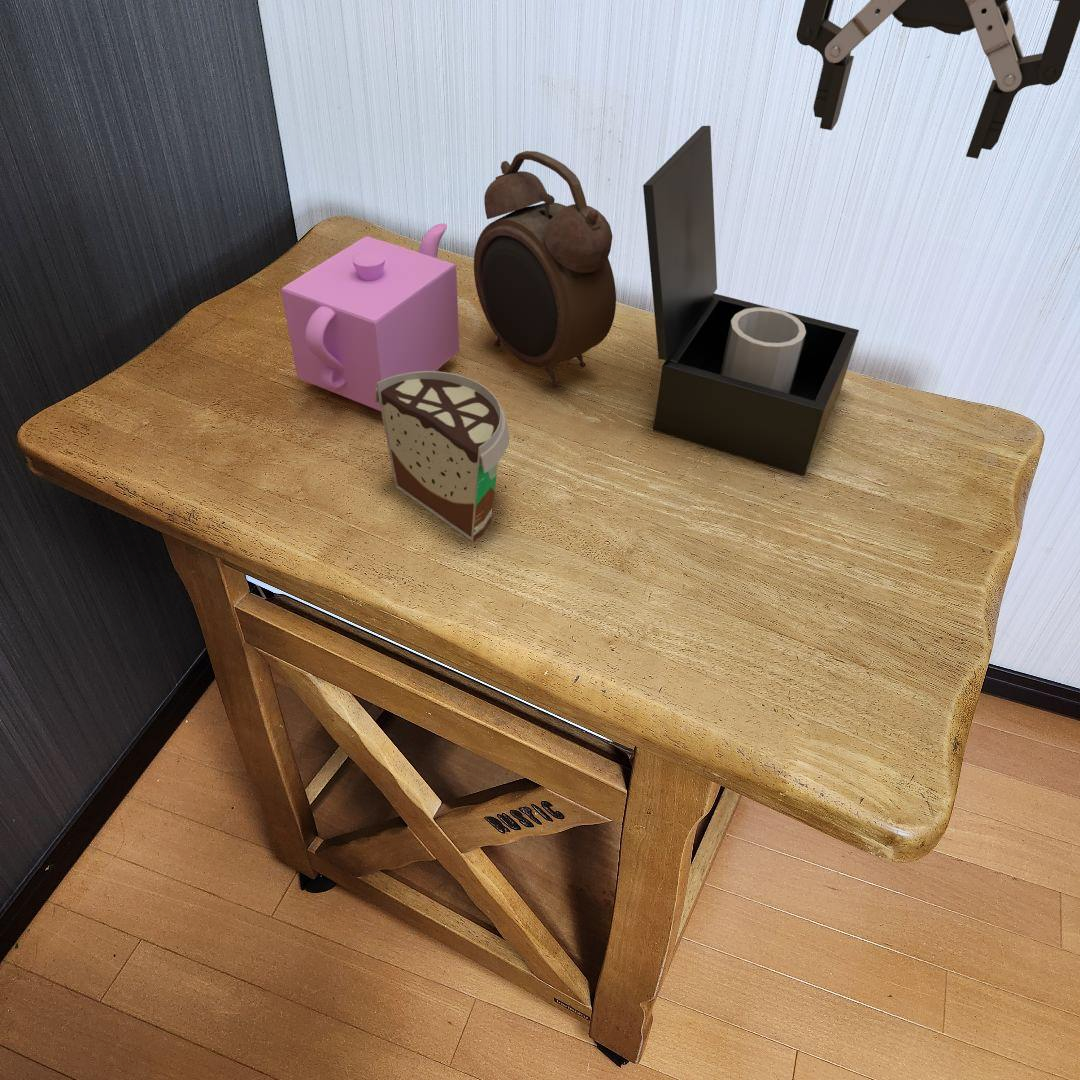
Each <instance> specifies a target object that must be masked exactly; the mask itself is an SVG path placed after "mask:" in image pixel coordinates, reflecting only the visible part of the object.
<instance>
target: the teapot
mask: <svg viewBox="0 0 1080 1080" xmlns="http://www.w3.org/2000/svg"><path fill="white" fill-rule="evenodd" d="M447 229H448V224H447V223H443V222H441V223H437V224H435V225H433V226H431V227H430V228H429V229H428V230H427V231H426V233H425V234H424V236H423V239H422V240H421V242H420V246H419V248H418V251H416V250H412V249H409V248H407V247H403V246H400V245H396V244H393V243H389V242H388V241H384V240H380V239H378V238H374V237H371V236H368V235H366V236H364V237H362V238H361V239H359V240H358V241H356V242H354V243H352V244H351V245H349V246H347V247H346V248H344V249H343V250H341V251H339V252H338V253H336V254H334V255H332V256H330V257H329V258H327V259H326V260H324V261H322V262H321V263H320V264H318V265H316V266H315V267H313V268H311V269H309V270H308V271H307V272H305V273H303V274H302V275H300V276H298V277H297V278H295V279H294V280H292V281H291V282H288V284H286V285H284V286H282V288H281V289H280V293H281V299H282V303H283V310H284V314H285V319H286V326H287V331H288V336H289V342H290V346H291V347H290V348H291V352H292V356H293V362H294V368H295V374H296V378H297V379H298V380H301V381H304V382H306V383H309V384H312V385H314V386H317V387H319V388H321V389H324V390H325V391H329V392H331V393H335V394H337V395H339V396H341V397H344V398H346V399H349V400H352V401H354V402H357V403H359V404H362V405H365V406H367V407H369V408H372V409H374V410H377V411H378V412H381V407H380V402H377V403H376V402H375V388H377V382H379V381H382V380H384V379H387V378H390V377H393V376H396V375H400V374H404V373H411V372H420V371H437V372H440V370H439V369H440V368H441V367H443V366H444V365H445V364H446V363H447V362H449V361H450V360H451V359H452V358H453V357H454V356H456V355H457V354H458V353H460V328H459V327H460V326H459V304H458V303H459V301H458V275H457V265H456V264H455V263H454V262H449V261H446V260H444V259H440V258H438V252H439V246H440V242H441V240H442V238H443V236H444V234H445V232H446V230H447Z"/></svg>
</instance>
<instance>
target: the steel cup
mask: <svg viewBox="0 0 1080 1080" xmlns="http://www.w3.org/2000/svg"><path fill="white" fill-rule="evenodd" d="M781 310H782V309H778V310H777V308H774V309H773V307H770V308H760V307H755V308H749V309H745V310H742V311H740V312H738V313H736V314H735V315H734V317H733V318H732V320H731V323H730V328H729V333H728V338H727V343H726V348H725V353H724V358H723V363H722V368H721V373H720V375H723V376H727V377H731V378H734V379H738V380H741V381H745V382H748V383H752V384H756V385H759V386H763V387H766V388H770V389H774V390H777V391H781V392H784V393H788V394H790V392H791V388H792V384H793V381H794V377H795V373H796V369H797V366H798V362H799V358H800V354H801V350H802V347H803V343H804V339H805V335H806V330H805V327H804V324H803V323H802V322H801V321H800V320H799V319H798V318H796V317H795V316H793V315H791V314H789V313H787V312H788V311H786V312H784V311H785V310H782V311H781Z"/></svg>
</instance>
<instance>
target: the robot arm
mask: <svg viewBox="0 0 1080 1080" xmlns="http://www.w3.org/2000/svg"><path fill="white" fill-rule="evenodd" d="M834 1H835V0H804V2H803V7H802V10H801V15H800V18H799V22H798V26H797V30H796V39H797V42H798V43H799V44H800V45H802V46H809V47H811V48H812V49H814V50H815V51H817V52H818V53H819V55H820V56H821V59H822V68H821V71H820V76H819V80H818V84H817V90H816V94H815V97H814V98H815V99H814V102H813V115H814V117H815V118H818V119H819V118H820V119H821V120H820V125H819V129H821V130H828V131H833V129H834V128H835V126H836V125H837V124H838V120H839V118H840V115H841V111H842V108H843V107H842V106H843V102H844V98H845V94H846V90H847V86H848V82H849V79H850V75H851V70H852V66H853V62H854V60H855V59H854V58H855V56H854V55H851V53H852V51H853V50H854V49H856V47H857V46H858V45H860V44H861V42H863V41H864V40H865V39H866V38H867V37H868V36H869V35H871V34H872V33H873V32H874V31H875V30H876V29H877V28H878V27H879V26H880V25H881V24H882V23H884V22H885V21H886V20H887V19H888V18H889V17H890V16H891V15H892V16H893V18H894V19H896V20H897V21H898V22H899V23H901V27H903V28H909V29H923V28H930V27H931V28H934V29H936V30H938V31H940V32H942V33H945V34H949V35H954V36H955V35H956V36H961V34H962V33H966V32H970V31H972V30H974V29H975V30H976V31H975V32H976V33H977V37H978V39H979V42H980V45H981V48H982V51H983V53H984V55H985V56H986V57H987V59H988V62H989V65H990V68H991V71H992V73H993V76H994V79H992V81H991V84H990V86H989V89H988V92H987V94H986V97H985V99H984V103H983V106H982V108H981V112H980V115H979V118H978V120H977V123H976V126H975V129H974V132H973V134H972V137H971V140H970V142H969V146H968V148H967V151H966V155H965V157H967V158H972V159H976V160H978V159H979V157H980V154H981V151H982V149H983V150H988V151H992V149H993V148H994V147H995V146H996V145H997V143H998V142H999V140H1000V138H1001V134H1002V131H1003V130H1004V126H1005V123H1006V121H1007V118H1008V116H1009V113H1010V110H1011V107H1012V105H1013V102H1014V99H1015V97H1016V96H1017V94H1018V93H1019V92H1020V91H1021V90H1022V89H1024V88H1027V87H1031V86H1036V85H1042V86H1046V87H1047V86H1052V85H1054V84H1055V83H1057V82H1058V81H1059V80H1060V79H1061V77H1062V75H1063V72H1064V70H1065V67H1066V65H1067V60H1068V58H1069V54H1070V52H1071V48H1072V44H1074V40H1075V37H1076V33H1077V31H1078V28H1079V25H1080V0H1054V2H1055V1H1056V2H1057V3H1058V4H1057V6H1056V10H1055V13H1054V15H1053V19H1052V22H1051V26H1050V29H1049V32H1048V35H1047V38H1046V42H1045V44H1044V48H1043V51H1042V52H1041V53H1036V54H1031V55H1026V56H1024V54H1023V50H1022V48H1021V45H1020V42H1019V39H1018V36H1017V32H1016V26H1015V21H1014V19H1013V16H1012V13H1011V10H1010V7H1009V4H1008V1H1009V0H869V1H868V2H867V3H866V4H865V5H864V6H863V7H861V9H860V10H859V11H858V12H857V13H856V14H855V15H854V16H853V17H852V18H851V19H850V20H849V21H848V22H847V23H846V24H845V25H844V26H843V27H840V26H839V25H837V24H835V23H834V22H832V21H831V20H829V19H830V16H831V13H832V9H833V5H834Z"/></svg>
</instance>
